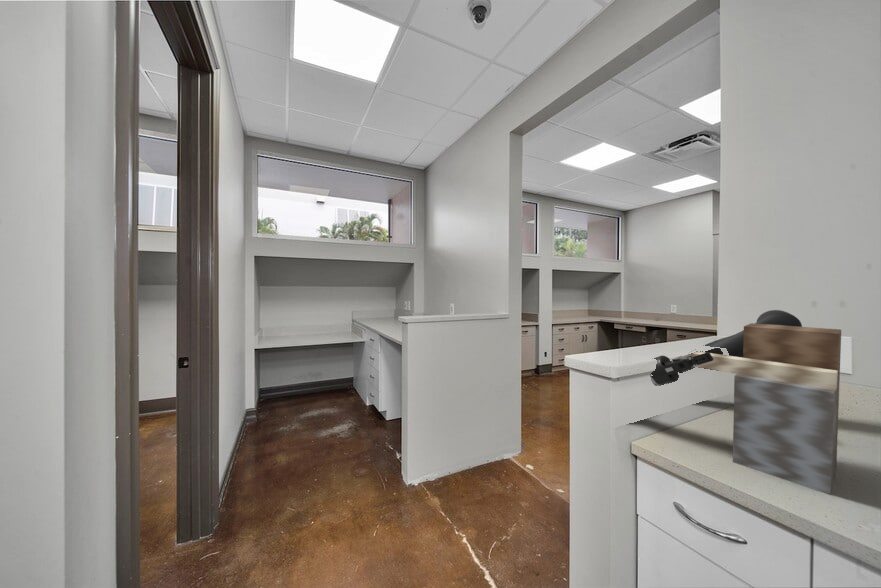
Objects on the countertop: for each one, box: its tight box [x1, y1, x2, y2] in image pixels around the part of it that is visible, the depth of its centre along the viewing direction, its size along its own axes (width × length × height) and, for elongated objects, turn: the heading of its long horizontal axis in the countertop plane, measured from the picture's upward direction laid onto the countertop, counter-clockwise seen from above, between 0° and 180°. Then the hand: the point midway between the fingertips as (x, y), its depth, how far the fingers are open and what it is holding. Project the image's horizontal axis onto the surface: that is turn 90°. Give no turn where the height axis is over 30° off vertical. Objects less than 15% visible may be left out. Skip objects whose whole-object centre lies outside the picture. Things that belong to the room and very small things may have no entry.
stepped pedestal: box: [732, 322, 842, 495], centre depth 75 cm, size 15×16×32 cm
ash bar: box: [692, 351, 838, 391], centre depth 76 cm, size 24×4×4 cm, turn 36°
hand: (716, 353), depth 82 cm, fingers open, 8 cm apart
